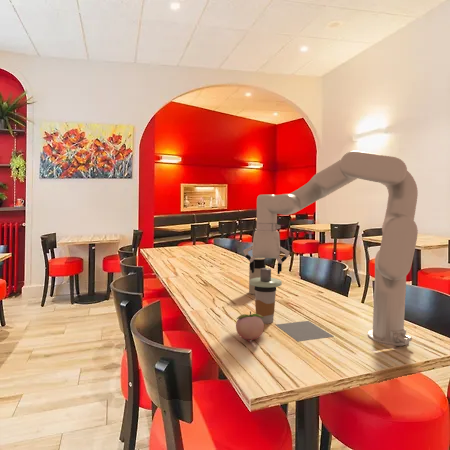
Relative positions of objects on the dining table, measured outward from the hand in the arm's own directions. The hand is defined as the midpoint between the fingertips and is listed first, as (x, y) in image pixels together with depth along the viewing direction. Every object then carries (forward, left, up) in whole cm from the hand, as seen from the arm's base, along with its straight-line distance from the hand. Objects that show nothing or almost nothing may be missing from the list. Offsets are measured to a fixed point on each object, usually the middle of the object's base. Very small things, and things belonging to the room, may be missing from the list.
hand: (265, 272), depth 133 cm
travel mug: (+39, -14, -19) cm, 46 cm away
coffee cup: (0, 0, -19) cm, 19 cm away
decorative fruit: (-15, +12, -19) cm, 28 cm away
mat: (-13, -9, -19) cm, 25 cm away
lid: (0, 0, -4) cm, 4 cm away
